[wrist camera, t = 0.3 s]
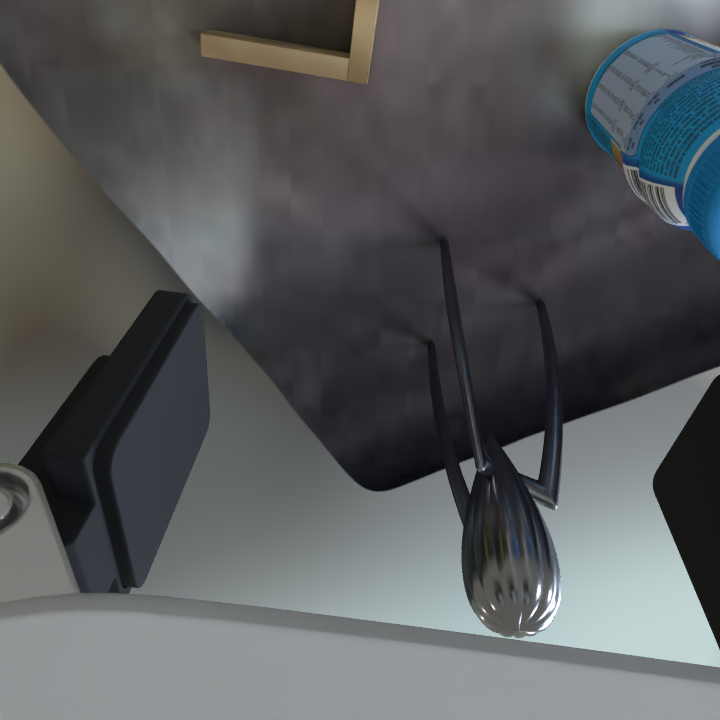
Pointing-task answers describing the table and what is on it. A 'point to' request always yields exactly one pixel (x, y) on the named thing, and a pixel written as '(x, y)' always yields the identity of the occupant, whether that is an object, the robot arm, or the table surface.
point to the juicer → (503, 496)
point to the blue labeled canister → (664, 126)
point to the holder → (302, 50)
